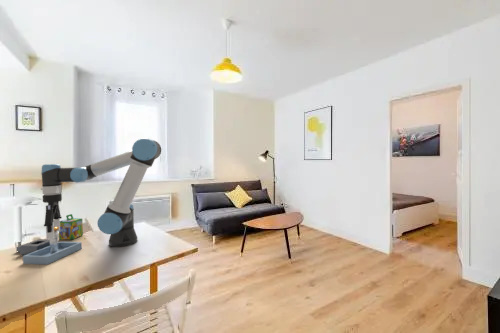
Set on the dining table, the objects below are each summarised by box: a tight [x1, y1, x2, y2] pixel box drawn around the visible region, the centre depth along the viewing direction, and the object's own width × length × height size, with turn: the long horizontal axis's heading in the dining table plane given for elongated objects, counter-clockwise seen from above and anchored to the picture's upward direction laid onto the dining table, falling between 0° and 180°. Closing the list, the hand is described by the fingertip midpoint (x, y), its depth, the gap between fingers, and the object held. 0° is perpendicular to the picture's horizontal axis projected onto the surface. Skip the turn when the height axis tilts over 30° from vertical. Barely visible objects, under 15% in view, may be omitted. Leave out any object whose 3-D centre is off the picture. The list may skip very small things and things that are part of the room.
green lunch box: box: [58, 213, 84, 241], centre depth 152 cm, size 9×9×15 cm
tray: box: [22, 241, 83, 265], centre depth 124 cm, size 20×13×4 cm, turn 173°
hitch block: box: [15, 238, 50, 256], centre depth 129 cm, size 10×16×5 cm, turn 83°
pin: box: [49, 227, 59, 255], centre depth 123 cm, size 5×5×14 cm
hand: (53, 234), depth 123 cm, fingers open, 13 cm apart
